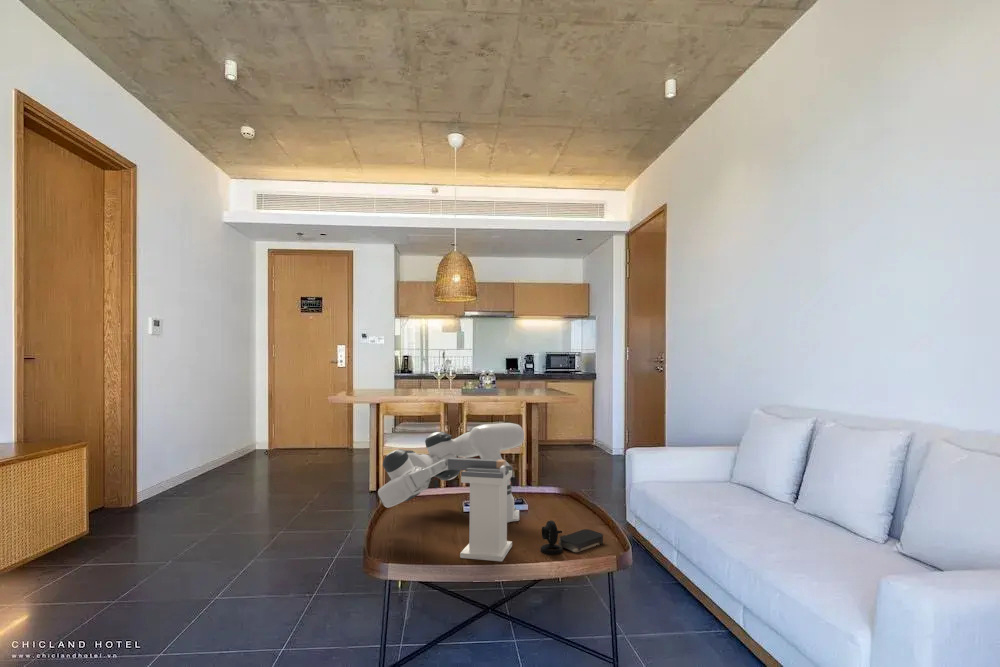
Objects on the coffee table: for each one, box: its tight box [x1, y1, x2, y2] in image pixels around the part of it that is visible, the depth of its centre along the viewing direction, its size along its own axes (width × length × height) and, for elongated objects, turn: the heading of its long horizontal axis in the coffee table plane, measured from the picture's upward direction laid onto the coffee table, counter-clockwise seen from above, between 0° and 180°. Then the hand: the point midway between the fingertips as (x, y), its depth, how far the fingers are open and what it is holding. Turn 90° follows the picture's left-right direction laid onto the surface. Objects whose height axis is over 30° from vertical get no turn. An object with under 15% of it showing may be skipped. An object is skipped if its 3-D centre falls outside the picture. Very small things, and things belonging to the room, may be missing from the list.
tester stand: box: [459, 465, 513, 562], centre depth 177 cm, size 16×14×29 cm
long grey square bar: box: [448, 457, 507, 471], centre depth 183 cm, size 4×20×4 cm, turn 77°
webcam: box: [540, 519, 564, 555], centre depth 178 cm, size 8×8×10 cm
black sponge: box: [558, 528, 604, 553], centre depth 183 cm, size 16×8×4 cm, turn 131°
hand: (449, 461), depth 185 cm, fingers open, 8 cm apart
